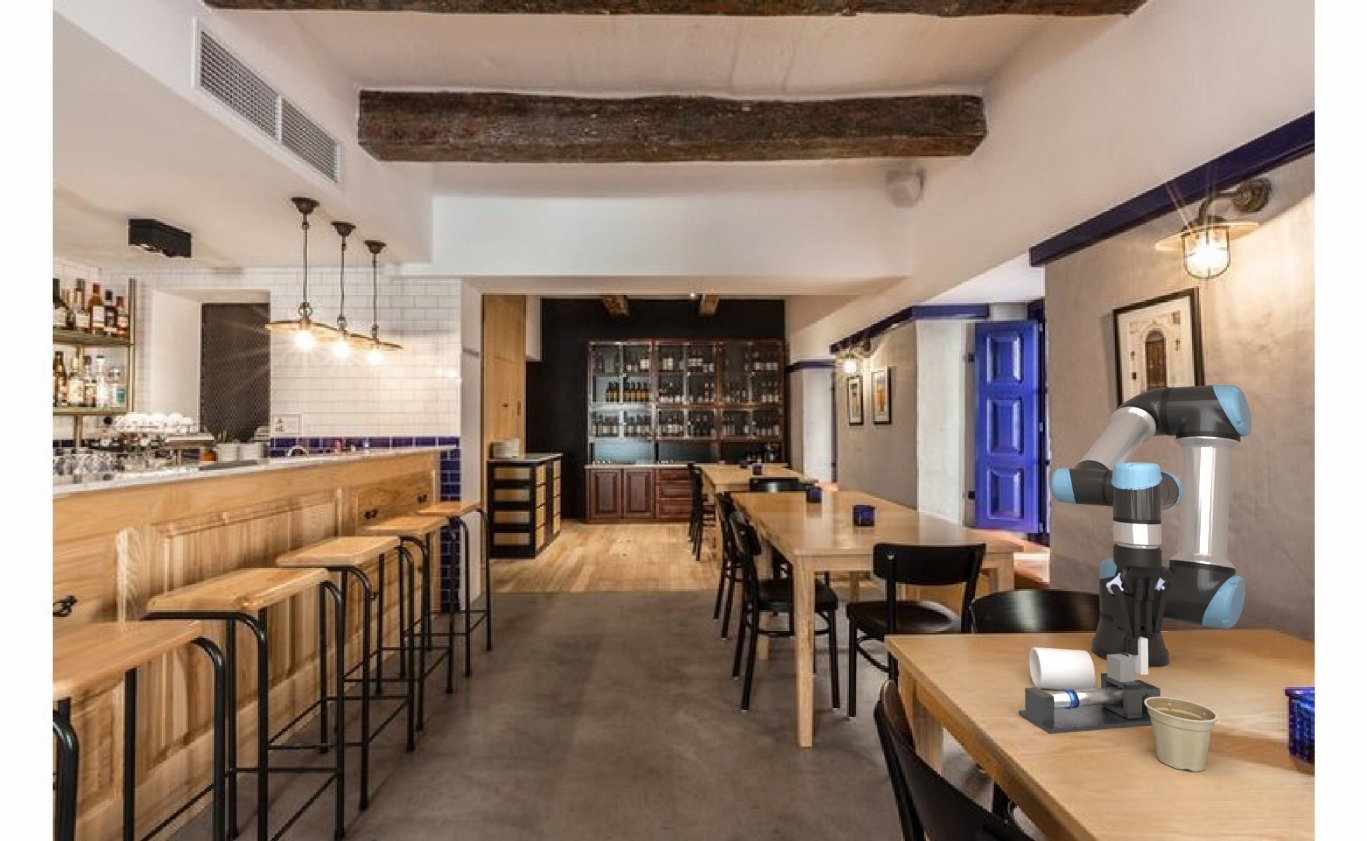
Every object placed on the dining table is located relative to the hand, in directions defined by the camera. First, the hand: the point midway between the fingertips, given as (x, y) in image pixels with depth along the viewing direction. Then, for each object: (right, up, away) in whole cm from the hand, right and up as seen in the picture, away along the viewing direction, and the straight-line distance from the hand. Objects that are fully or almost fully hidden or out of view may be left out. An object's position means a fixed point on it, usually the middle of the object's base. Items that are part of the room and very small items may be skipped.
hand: (1138, 671), depth 122 cm
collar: (-4, -8, -1) cm, 9 cm away
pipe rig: (-10, -8, -2) cm, 13 cm away
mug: (-6, -9, +15) cm, 18 cm away
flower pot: (-6, -8, -18) cm, 20 cm away
